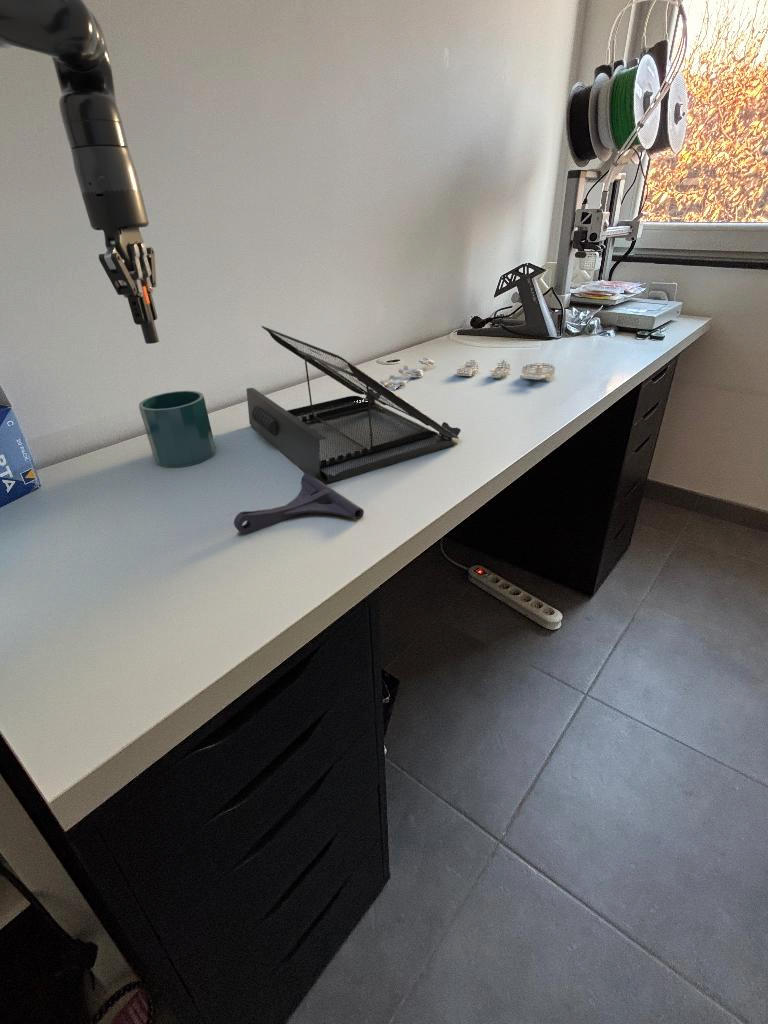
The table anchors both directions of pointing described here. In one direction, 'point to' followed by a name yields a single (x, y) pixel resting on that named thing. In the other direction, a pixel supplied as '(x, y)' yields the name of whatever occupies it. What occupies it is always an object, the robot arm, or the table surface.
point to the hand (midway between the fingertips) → (146, 321)
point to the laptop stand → (304, 440)
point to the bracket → (300, 507)
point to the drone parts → (470, 369)
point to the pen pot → (178, 428)
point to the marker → (149, 328)
